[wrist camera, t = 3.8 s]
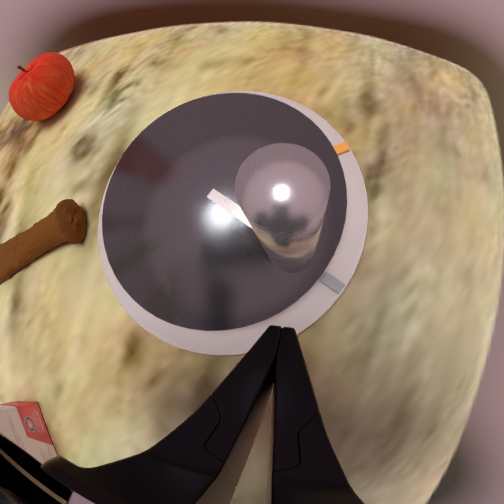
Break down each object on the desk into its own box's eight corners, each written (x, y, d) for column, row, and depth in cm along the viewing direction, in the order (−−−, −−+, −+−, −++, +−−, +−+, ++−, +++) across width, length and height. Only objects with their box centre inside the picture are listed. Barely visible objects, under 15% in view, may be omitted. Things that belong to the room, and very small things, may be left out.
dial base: (412, 278, 16) (420, 275, 15) (149, 387, 17) (140, 391, 16) (287, 71, 20) (286, 60, 19) (91, 166, 21) (82, 160, 20)
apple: (40, 144, 24) (-8, 110, 16) (33, 111, 26) (-5, 80, 18) (92, 93, 24) (50, 48, 16) (78, 67, 26) (45, 29, 18)
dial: (388, 263, 15) (475, 209, 6) (150, 363, 16) (35, 392, 7) (277, 76, 19) (260, -28, 10) (98, 164, 20) (18, 102, 11)
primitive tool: (-16, 300, 22) (-39, 296, 19) (-17, 255, 23) (-38, 249, 20) (94, 245, 20) (64, 233, 17) (89, 185, 22) (64, 168, 18)
